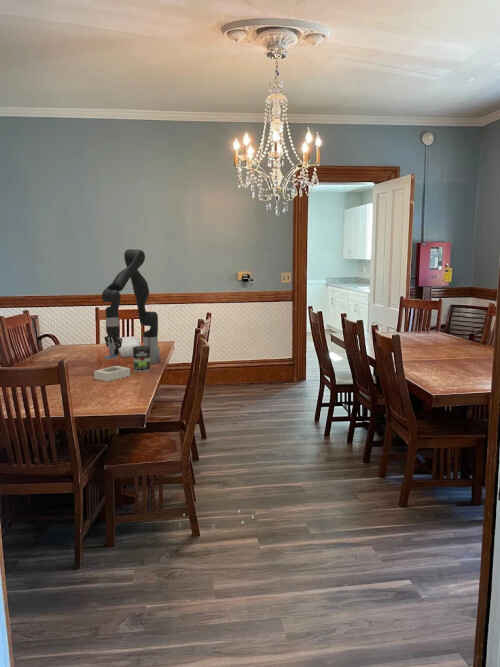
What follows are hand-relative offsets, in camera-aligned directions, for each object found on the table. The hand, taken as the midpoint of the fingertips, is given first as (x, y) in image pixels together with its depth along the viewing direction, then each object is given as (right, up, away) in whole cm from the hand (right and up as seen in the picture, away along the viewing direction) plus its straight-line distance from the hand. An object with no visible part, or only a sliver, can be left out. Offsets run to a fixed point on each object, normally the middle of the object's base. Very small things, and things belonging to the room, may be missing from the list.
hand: (114, 354), depth 294 cm
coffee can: (+12, -10, +18) cm, 24 cm away
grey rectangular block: (-1, -2, -1) cm, 3 cm away
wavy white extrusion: (-9, -2, +68) cm, 68 cm away
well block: (-1, -13, +1) cm, 13 cm away
